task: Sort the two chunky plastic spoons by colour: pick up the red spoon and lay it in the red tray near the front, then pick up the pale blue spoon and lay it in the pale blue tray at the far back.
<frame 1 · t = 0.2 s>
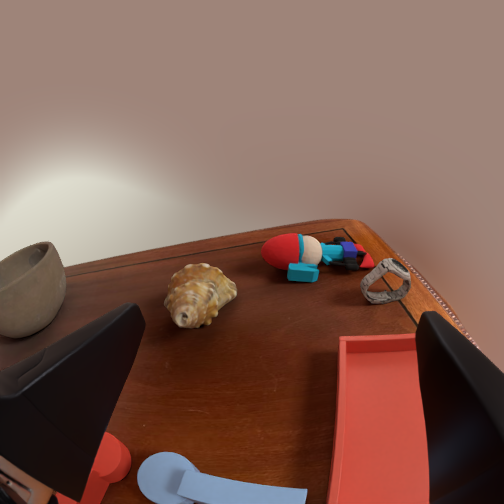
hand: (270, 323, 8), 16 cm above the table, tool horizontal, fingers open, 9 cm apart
toy figure: (318, 266, 38), on the table
bowl: (38, 317, 35), on the table
wristwatch: (383, 299, 30), on the table
red tray: (402, 424, 17), on the table
blue spoon: (246, 501, 14), on the table
seashell: (206, 315, 32), on the table
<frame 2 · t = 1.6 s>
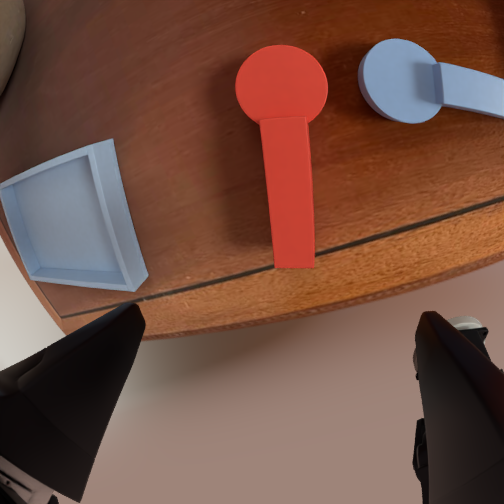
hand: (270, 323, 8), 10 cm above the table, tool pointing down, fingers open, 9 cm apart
bowl: (4, 48, 14), on the table
red spoon: (293, 184, 16), on the table
blue spoon: (476, 95, 10), on the table
blue tray: (65, 219, 21), on the table
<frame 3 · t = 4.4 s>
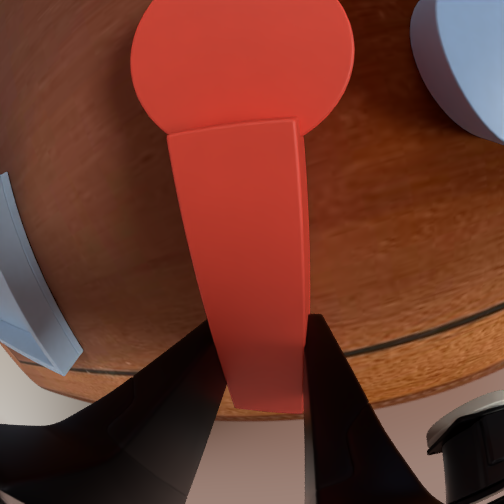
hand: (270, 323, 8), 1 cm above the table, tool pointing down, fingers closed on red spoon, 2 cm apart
red spoon: (272, 257, 8), on the table, touching gripper
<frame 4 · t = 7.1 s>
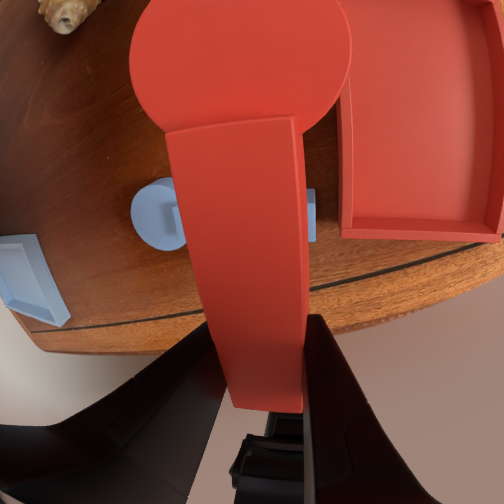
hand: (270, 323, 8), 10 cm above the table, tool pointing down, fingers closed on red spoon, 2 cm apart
red spoon: (271, 256, 8), point 9 cm above the table, touching gripper
red tray: (426, 97, 12), on the table
blue spoon: (251, 206, 18), on the table
blue tray: (22, 273, 28), on the table
when the fingers open (2 cm above the table, at t = 9.9 s): red spoon stays where it is, resting on red tray.
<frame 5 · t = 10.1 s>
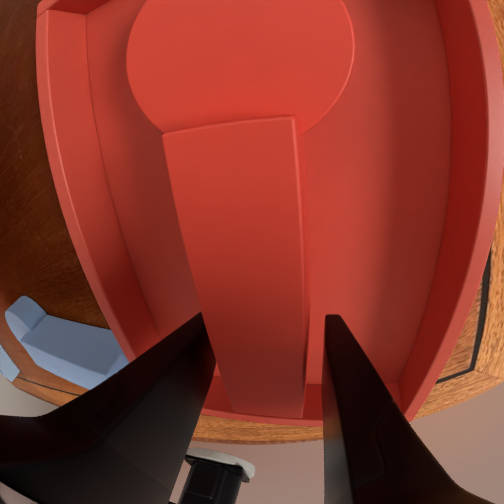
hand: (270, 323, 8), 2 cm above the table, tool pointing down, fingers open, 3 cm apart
red spoon: (271, 259, 8), resting on red tray
red tray: (271, 205, 8), on the table
blue spoon: (89, 337, 14), on the table
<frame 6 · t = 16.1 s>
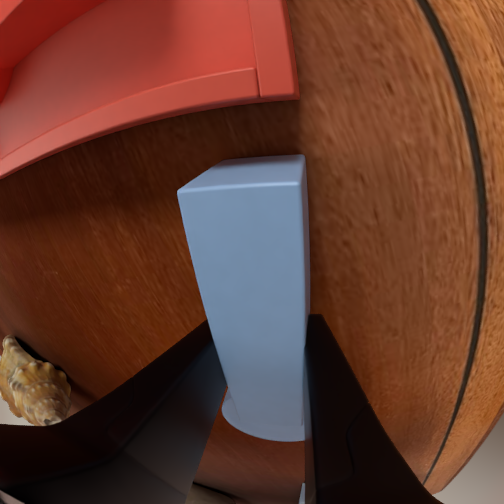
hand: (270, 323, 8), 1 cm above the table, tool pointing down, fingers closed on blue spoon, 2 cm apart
bowl: (196, 486, 30), on the table
red spoon: (69, 0, 5), resting on red tray
red tray: (52, 20, 5), on the table
blue spoon: (274, 286, 9), on the table, touching gripper
seashell: (49, 362, 18), on the table
when the fingers open (2 cm above the table, at t = 22.2 s): blue spoon stays where it is, resting on blue tray.
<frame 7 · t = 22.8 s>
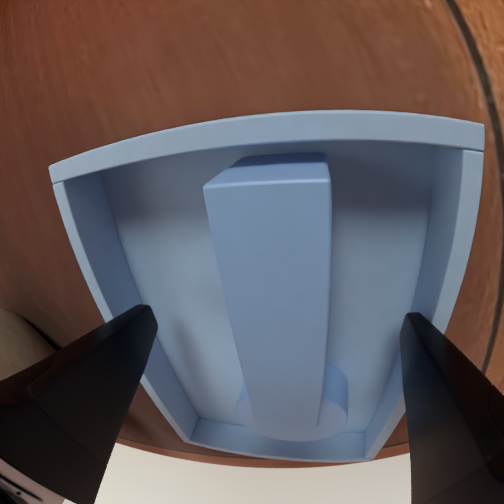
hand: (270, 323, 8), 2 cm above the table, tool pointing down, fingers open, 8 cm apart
bowl: (48, 355, 19), on the table
blue spoon: (292, 284, 9), resting on blue tray
blue tray: (271, 339, 11), on the table
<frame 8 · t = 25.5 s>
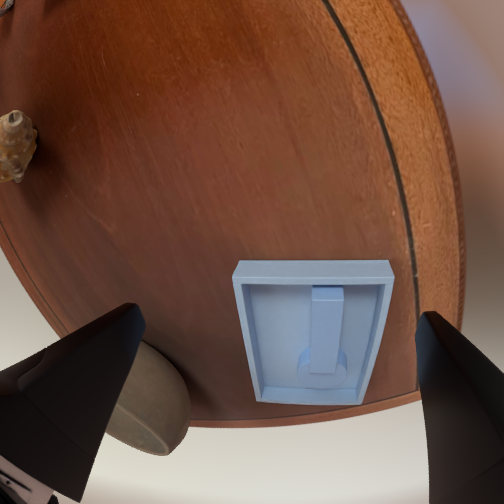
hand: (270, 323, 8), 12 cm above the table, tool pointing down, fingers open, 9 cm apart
bowl: (141, 360, 32), on the table
wristwatch: (11, 1, 11), on the table
blue spoon: (325, 317, 22), resting on blue tray
seashell: (27, 135, 20), on the table
blue tray: (313, 338, 24), on the table
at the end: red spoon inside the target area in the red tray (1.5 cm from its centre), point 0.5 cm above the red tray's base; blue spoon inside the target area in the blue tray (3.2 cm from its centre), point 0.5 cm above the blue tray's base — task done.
